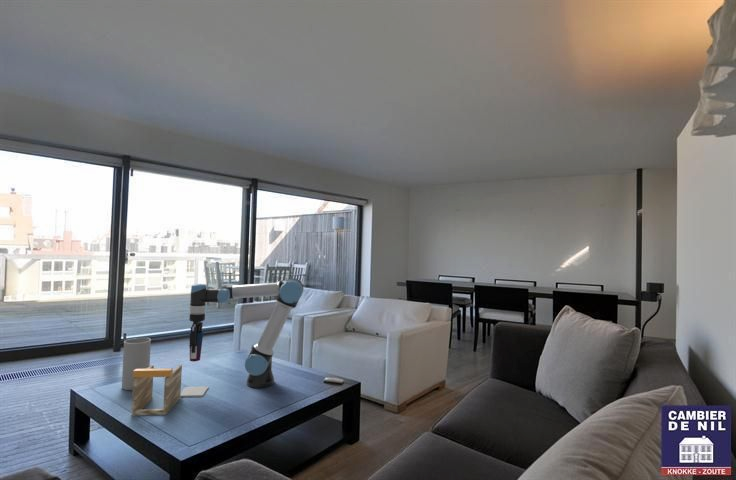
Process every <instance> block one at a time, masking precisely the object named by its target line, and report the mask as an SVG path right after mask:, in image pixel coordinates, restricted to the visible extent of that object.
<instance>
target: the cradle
mask: <svg viewBox="0 0 736 480" xmlns="http://www.w3.org/2000/svg"><path fill="white" fill-rule="evenodd" d="M154 366H155V365H150V366H149V367H148V368H147V369H155V368H154ZM182 370H183V365H182V364H179V365H177V367H175V368H174V369H173V373H172V376H171V377H164V385H163V386H164V387H163V390H164V391H163V393H164V394H163V408H144V407H145V406H146V405H147V404H148V403H149V402H150V401H151V400H152V399H153V386H154V377H135V378H134V379H133V390H132V396H131V397H132V399H131V416H155V415H156V416H158V415H163V416H164V415H167V414H169V412H170V411H171V410H172V409H173V407H174V406H175V405H176V404H177V403H178V401H179V400H180V399H181V397H180V395H181V392H182V390H181V389H182V373H183V372H182ZM143 408H144V409H143Z"/></svg>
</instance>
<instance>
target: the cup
mask: <svg viewBox="0 0 736 480" xmlns="http://www.w3.org/2000/svg"><path fill="white" fill-rule="evenodd" d="M188 334H189V337H188V338H189V341H190V335H191V330H190V331H189V333H188ZM196 335H197V344H196V346H197V354H196V359H190V357H191V346H189V361H190V362H198V361H201V355H202V354H201V353H202V349H203V348H202V347H203V346H202V345H203V337H204V330H202V331H200V333H196Z"/></svg>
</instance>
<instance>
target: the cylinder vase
mask: <svg viewBox="0 0 736 480" xmlns="http://www.w3.org/2000/svg"><path fill="white" fill-rule="evenodd" d="M151 343H152V339H151V338H150V337H134V338H128V339H125V340H124V341H123V352H122V353H123V358H122V374H121V376H122V377H121V378H122V379H121V389H123V390H125V391H133V379H134V378H135V377H133V371H134V370H135V369H147V368H148V367H149V366H150V364H151V362H150V361H151Z"/></svg>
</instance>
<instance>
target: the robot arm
mask: <svg viewBox="0 0 736 480" xmlns="http://www.w3.org/2000/svg"><path fill="white" fill-rule="evenodd" d="M207 287H208V286H207V284H205V283H195V284H194V283H193V284H192V285H191V289H190V302H189V303H190V304H189V307H188V309H189V313H190V314H189V321H190V322H192V325H191V327H190V331H191V335H190V340H189V344H188V345H189V347H190V346H191V357H190V356H189V360H190V359H196V354H197V346H196V344H197V335H196V333H200V331H203V326H204V325H203V323H204V321H205V320H206V305H207V304H206V303H214V304H215V303H217V304H223V303H225V304H226V303H228V302H229V301H230V300H231V299H233V300H234V299H245V298H247V299H248V298H261V297H272V296H273V297H275V296H276V298H275V301H276V304H275V306H274V309H272V312H271V315H270V317H269V319H268V320H267V323H266V325H265V327H264V329H263V331H262V333H261V335H260V337H259V339H258V341H257V342H253V343H252V344H251V347H250V352H249V354H248V356H247V357H246V359H245V361H244V368H245V371H246V372H247V373H248V376H247V379H246V386H247V387H249V388H256V389H263V388H264V389H265V388H267V387H272V385H274V383H275V377H274V374H273V370H272V367H273V366H272V364H273V361H272V360H273V356H274V354H275V353H274V350H273V349H274V347H275V345H276V344H277V341H278V339H279V336H280V335H281V332H282V331H283V328H284V326H285V324H286V322H287V319H288V317H289V316H290V314H291V311H292V310H293V309H296V307H297V305H298V303H299V300H300V299H301V298H302V295H303V293H304V284H303V283H302V282H301V281H300V280H299V279H298V278H289V279H282V280H278V281H277V282H264V283H250V284H249V283H247V284H234V285H233V284H232V285H227V284H225V285H221V286H219V287H216V288H214V287H213V288H212V287H211V288H207Z"/></svg>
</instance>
